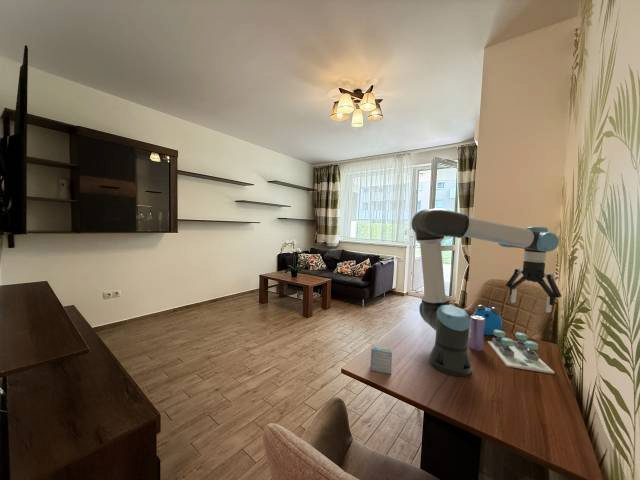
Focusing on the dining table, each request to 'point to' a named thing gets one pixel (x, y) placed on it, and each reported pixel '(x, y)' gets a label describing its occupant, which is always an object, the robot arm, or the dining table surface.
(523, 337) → the button
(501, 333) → the button
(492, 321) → the alarm clock
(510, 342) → the button
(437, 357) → the robot arm
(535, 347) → the button
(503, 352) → the board
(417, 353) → the dining table surface
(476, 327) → the beverage can
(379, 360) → the medicine box
